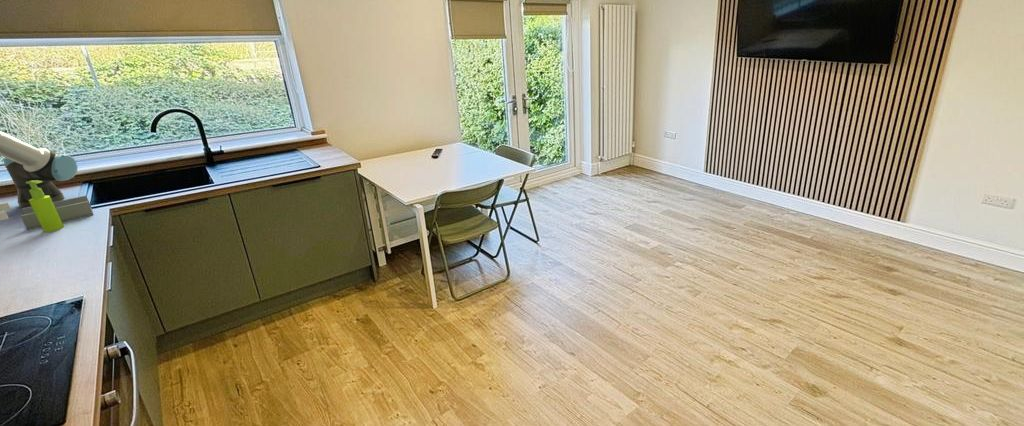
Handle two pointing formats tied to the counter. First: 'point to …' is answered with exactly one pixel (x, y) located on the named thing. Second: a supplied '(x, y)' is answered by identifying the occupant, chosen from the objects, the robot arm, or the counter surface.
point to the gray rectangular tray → (60, 211)
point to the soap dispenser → (44, 208)
